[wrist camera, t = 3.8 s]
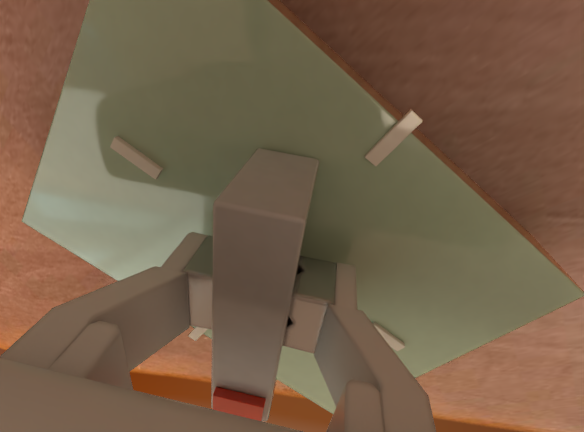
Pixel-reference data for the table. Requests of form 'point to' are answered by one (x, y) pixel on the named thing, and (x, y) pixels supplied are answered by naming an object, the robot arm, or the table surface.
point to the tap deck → (287, 139)
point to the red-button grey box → (256, 276)
